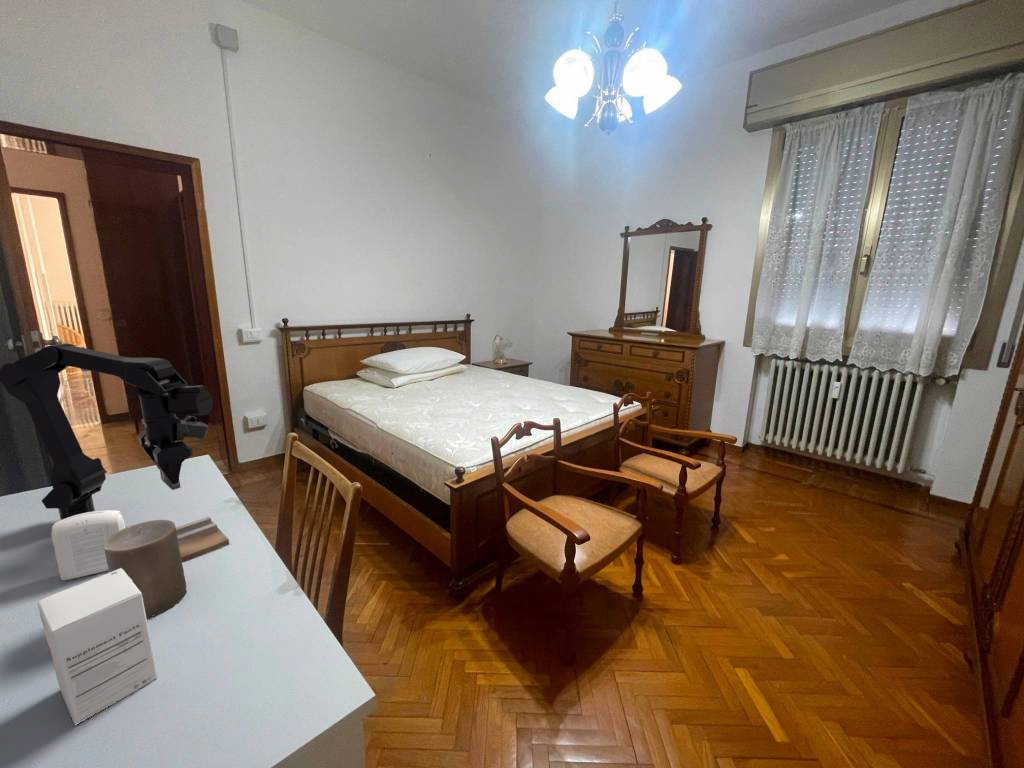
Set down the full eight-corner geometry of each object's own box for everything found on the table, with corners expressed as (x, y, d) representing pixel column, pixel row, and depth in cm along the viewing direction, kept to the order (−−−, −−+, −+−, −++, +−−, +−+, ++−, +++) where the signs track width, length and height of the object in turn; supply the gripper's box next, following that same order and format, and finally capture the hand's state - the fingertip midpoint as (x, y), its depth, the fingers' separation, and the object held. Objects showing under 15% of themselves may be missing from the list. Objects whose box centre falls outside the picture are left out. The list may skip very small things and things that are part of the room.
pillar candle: (199, 590, 79) (187, 518, 76) (140, 628, 70) (124, 548, 67) (164, 578, 82) (152, 508, 79) (103, 613, 73) (86, 536, 70)
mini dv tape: (161, 479, 101) (157, 456, 99) (169, 477, 102) (165, 454, 101) (172, 490, 96) (168, 466, 95) (180, 487, 97) (176, 464, 96)
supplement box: (58, 690, 59) (34, 599, 56) (139, 647, 66) (122, 565, 63) (73, 729, 54) (48, 632, 51) (159, 678, 61) (142, 590, 58)
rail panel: (144, 543, 92) (142, 532, 92) (208, 521, 102) (207, 511, 101) (161, 570, 84) (158, 558, 83) (229, 544, 93) (227, 533, 92)
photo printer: (133, 555, 88) (123, 502, 86) (129, 566, 85) (118, 511, 82) (64, 572, 83) (51, 515, 80) (57, 584, 79) (43, 526, 77)
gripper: (214, 415, 96) (223, 478, 99) (189, 400, 107) (198, 457, 110) (152, 427, 87) (163, 495, 91) (132, 409, 98) (143, 470, 102)
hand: (169, 477), depth 99 cm, fingers closed on mini dv tape, 8 cm apart
